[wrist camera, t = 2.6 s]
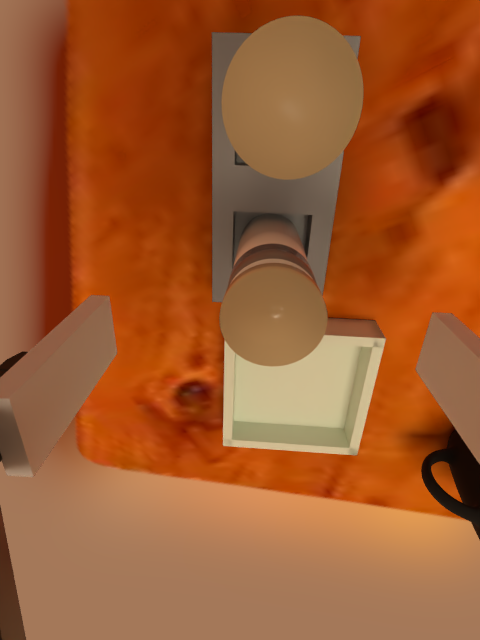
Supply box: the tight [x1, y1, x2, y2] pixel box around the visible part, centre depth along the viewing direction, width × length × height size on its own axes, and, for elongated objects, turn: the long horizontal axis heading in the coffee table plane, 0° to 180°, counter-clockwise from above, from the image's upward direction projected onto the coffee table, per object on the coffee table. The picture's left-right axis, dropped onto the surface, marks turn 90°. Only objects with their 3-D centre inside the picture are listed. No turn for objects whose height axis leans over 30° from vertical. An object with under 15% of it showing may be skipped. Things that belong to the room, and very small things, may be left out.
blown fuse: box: [219, 214, 328, 366], centre depth 21 cm, size 5×5×13 cm
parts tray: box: [223, 318, 386, 455], centre depth 31 cm, size 12×12×3 cm
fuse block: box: [212, 16, 363, 302], centre depth 20 cm, size 16×8×13 cm, turn 178°
